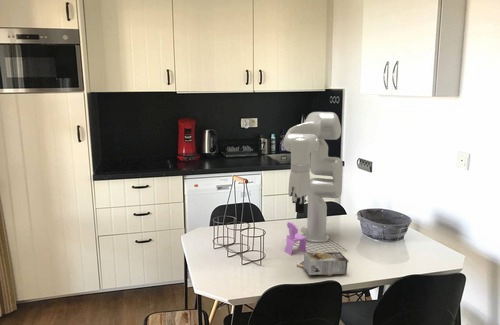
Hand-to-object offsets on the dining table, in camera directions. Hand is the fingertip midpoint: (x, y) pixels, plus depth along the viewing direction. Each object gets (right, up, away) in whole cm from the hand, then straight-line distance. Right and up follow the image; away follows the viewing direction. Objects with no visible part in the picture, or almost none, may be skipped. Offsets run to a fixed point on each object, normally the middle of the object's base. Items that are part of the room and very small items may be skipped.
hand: (299, 212), depth 173 cm
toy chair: (+1, -22, +30) cm, 37 cm away
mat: (+12, -25, +16) cm, 31 cm away
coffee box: (+3, -22, +5) cm, 23 cm away
